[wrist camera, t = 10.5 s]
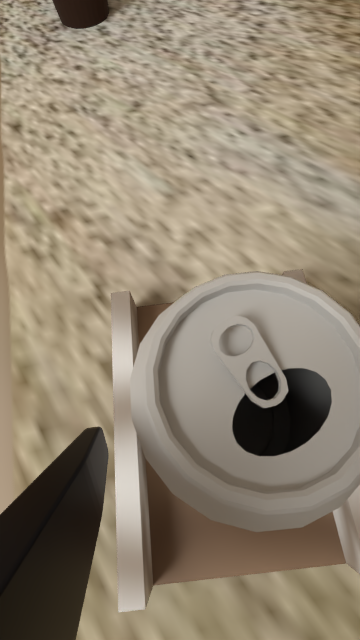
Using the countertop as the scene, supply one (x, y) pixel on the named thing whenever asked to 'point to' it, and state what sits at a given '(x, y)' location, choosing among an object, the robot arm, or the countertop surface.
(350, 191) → the countertop surface
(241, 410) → the can
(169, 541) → the floor track
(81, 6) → the coffee mug
